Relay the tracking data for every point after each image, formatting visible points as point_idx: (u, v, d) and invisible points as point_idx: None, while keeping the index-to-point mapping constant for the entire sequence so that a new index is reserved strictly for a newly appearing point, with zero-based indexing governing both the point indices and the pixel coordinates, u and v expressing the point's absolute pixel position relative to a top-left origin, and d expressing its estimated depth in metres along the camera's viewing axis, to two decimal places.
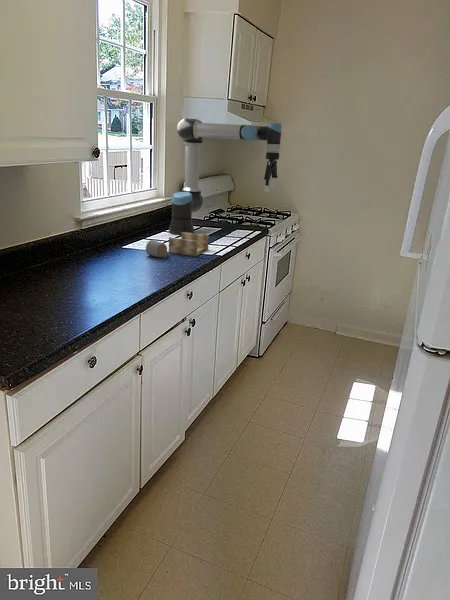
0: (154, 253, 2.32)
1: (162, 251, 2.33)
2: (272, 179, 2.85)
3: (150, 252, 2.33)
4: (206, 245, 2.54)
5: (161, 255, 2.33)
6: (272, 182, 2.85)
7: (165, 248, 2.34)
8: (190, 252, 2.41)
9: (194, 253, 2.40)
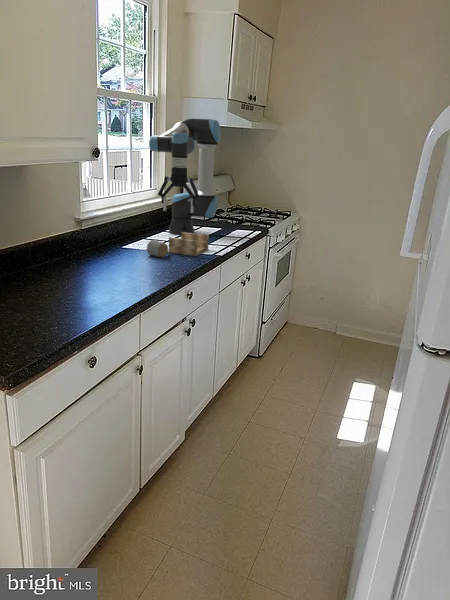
0: (155, 253, 2.33)
1: (163, 251, 2.34)
2: None
3: (151, 252, 2.34)
4: (206, 245, 2.54)
5: (162, 255, 2.34)
6: None
7: (166, 248, 2.35)
8: (190, 252, 2.41)
9: (194, 253, 2.40)
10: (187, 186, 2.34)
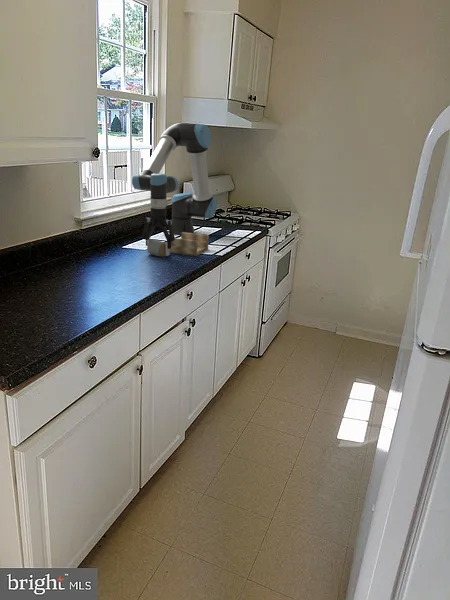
0: (156, 252, 2.33)
1: (164, 250, 2.34)
2: None
3: (152, 251, 2.35)
4: (206, 245, 2.54)
5: (163, 254, 2.34)
6: None
7: None
8: (190, 252, 2.41)
9: (194, 253, 2.40)
10: (165, 228, 2.32)
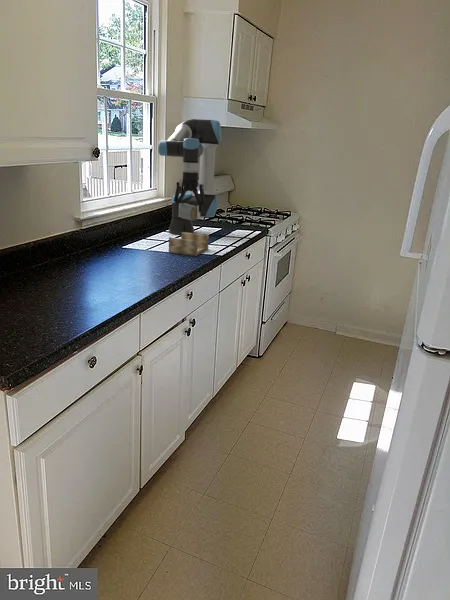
0: (187, 215, 2.40)
1: (195, 214, 2.41)
2: None
3: (183, 215, 2.42)
4: (206, 245, 2.54)
5: (194, 218, 2.42)
6: None
7: None
8: (190, 252, 2.41)
9: (194, 253, 2.40)
10: (196, 191, 2.39)
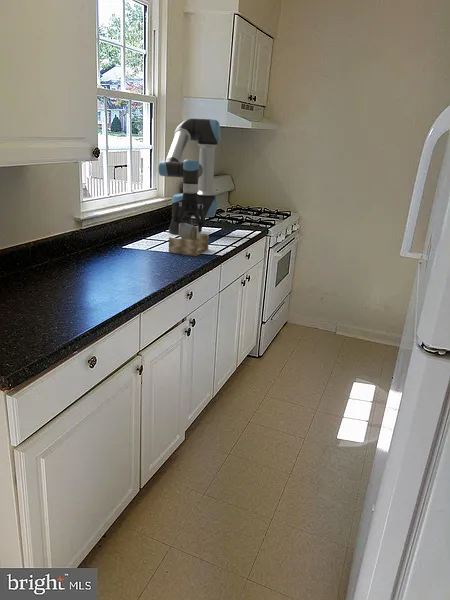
0: (187, 235, 2.44)
1: (195, 234, 2.45)
2: None
3: (183, 234, 2.45)
4: (206, 245, 2.54)
5: (194, 237, 2.45)
6: None
7: None
8: (190, 252, 2.41)
9: (194, 253, 2.40)
10: (196, 212, 2.43)
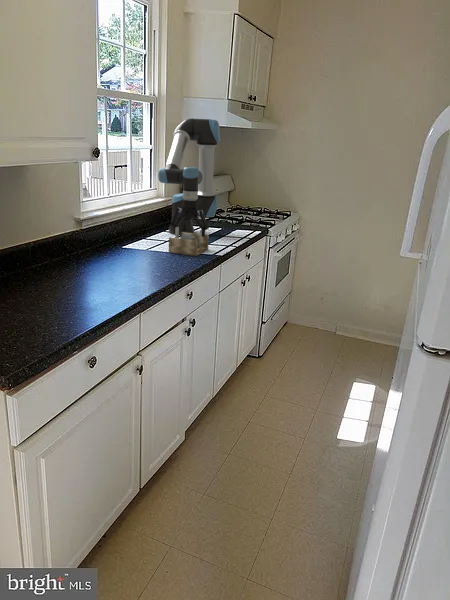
0: None
1: None
2: None
3: None
4: (206, 245, 2.54)
5: None
6: None
7: None
8: (190, 252, 2.41)
9: (194, 253, 2.40)
10: (197, 218, 2.43)
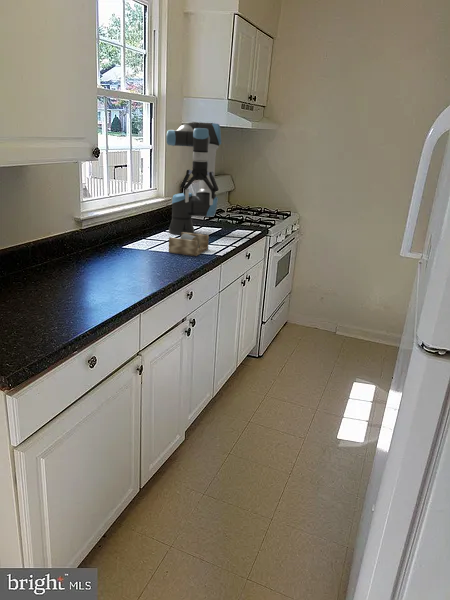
0: None
1: None
2: None
3: None
4: (206, 245, 2.54)
5: None
6: None
7: (198, 241, 2.48)
8: (190, 252, 2.41)
9: (194, 253, 2.40)
10: (207, 179, 2.45)
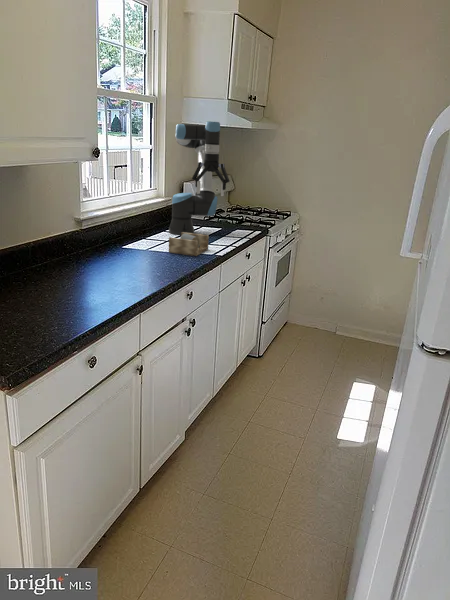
0: None
1: None
2: None
3: None
4: (206, 245, 2.54)
5: None
6: None
7: (198, 241, 2.48)
8: (190, 252, 2.41)
9: (194, 253, 2.40)
10: (218, 171, 2.53)
